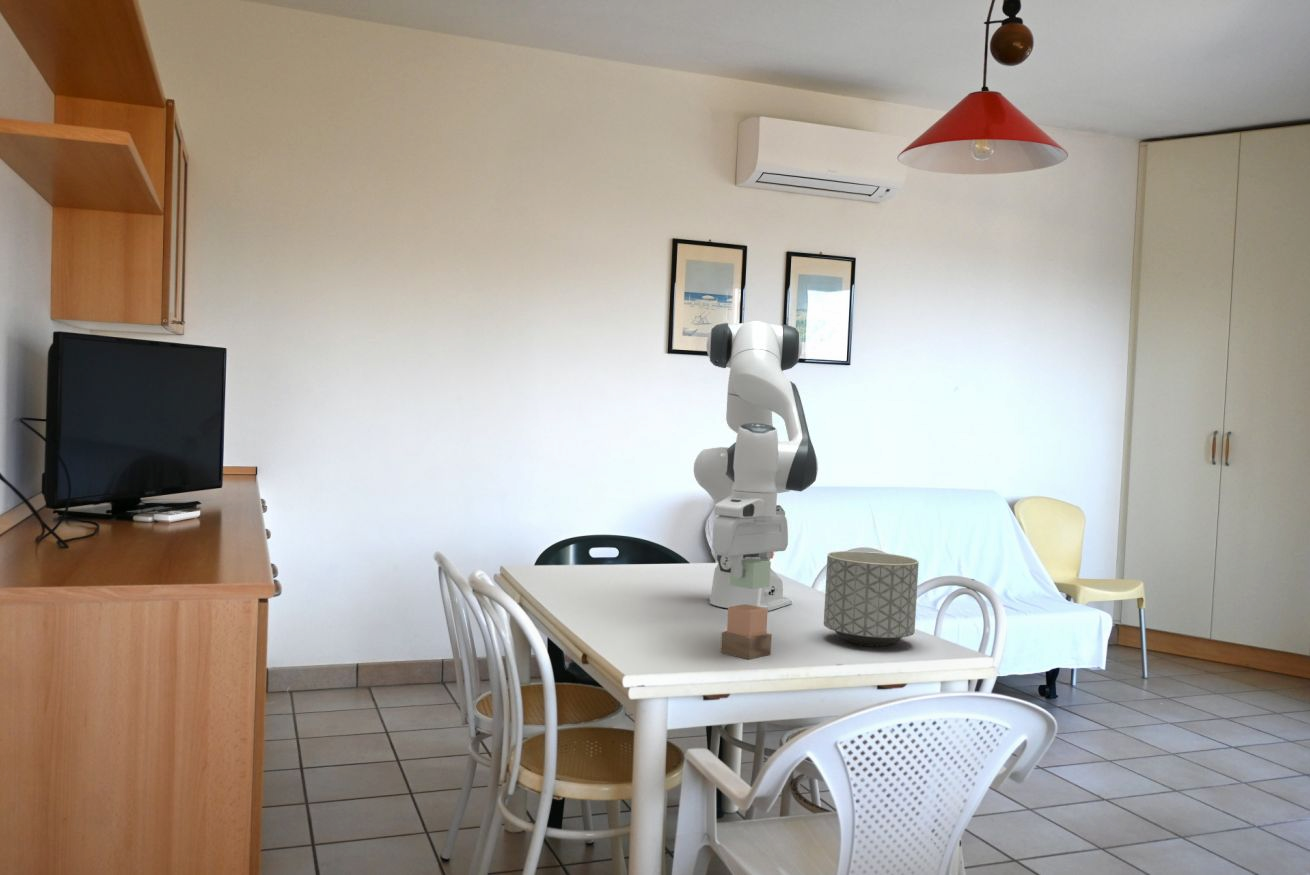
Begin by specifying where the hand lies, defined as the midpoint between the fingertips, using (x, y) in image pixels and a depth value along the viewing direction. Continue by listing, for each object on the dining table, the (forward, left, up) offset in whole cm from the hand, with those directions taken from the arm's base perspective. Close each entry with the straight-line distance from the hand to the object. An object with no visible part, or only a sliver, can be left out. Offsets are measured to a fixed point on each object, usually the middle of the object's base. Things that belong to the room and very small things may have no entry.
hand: (749, 576), depth 196 cm
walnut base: (0, 0, -15) cm, 15 cm away
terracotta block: (0, 0, -11) cm, 11 cm away
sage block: (0, 0, -2) cm, 2 cm away
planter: (-31, +9, -16) cm, 36 cm away
